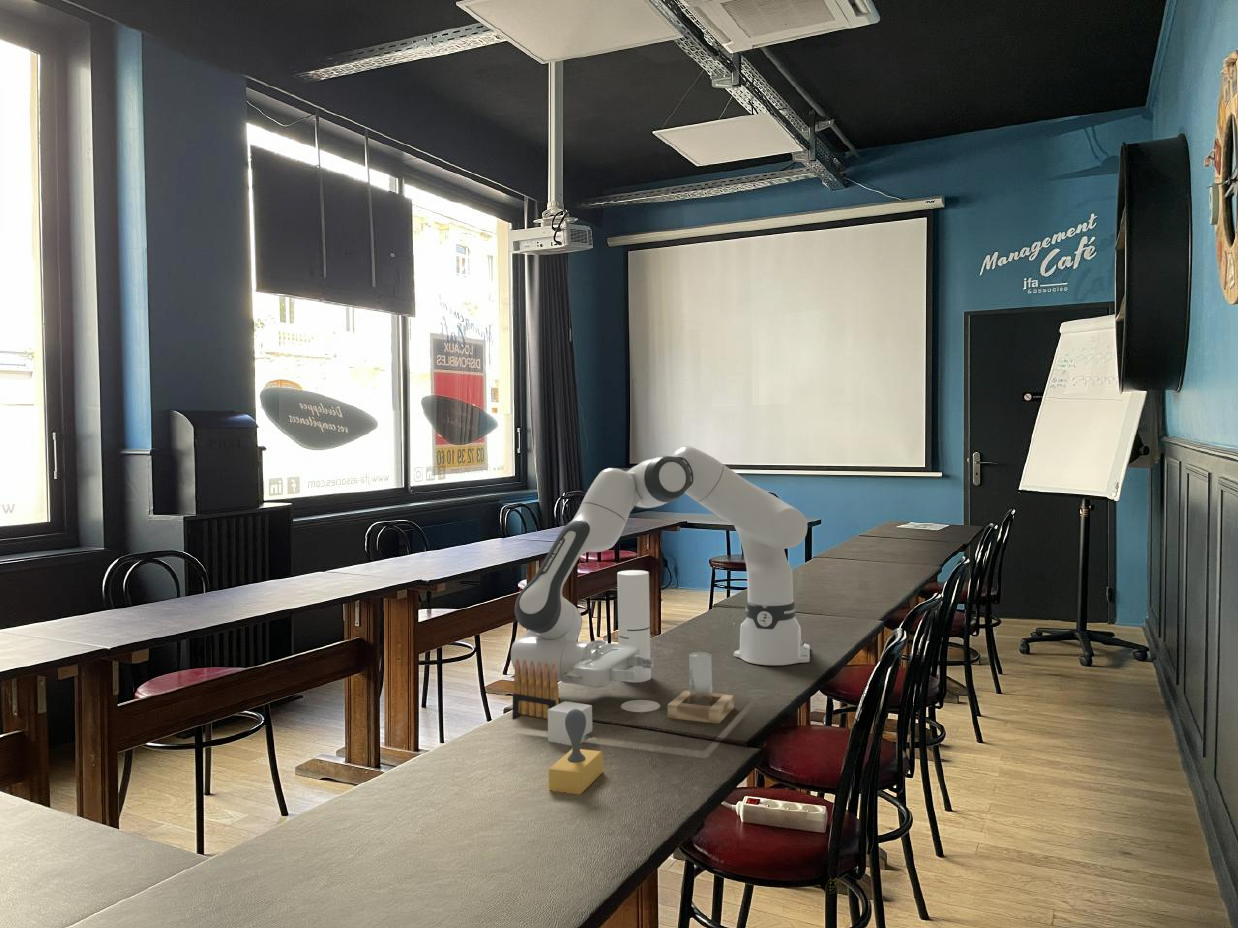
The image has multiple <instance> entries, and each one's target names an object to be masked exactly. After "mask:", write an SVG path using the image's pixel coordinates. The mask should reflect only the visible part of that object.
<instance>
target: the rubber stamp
mask: <svg viewBox="0 0 1238 928" xmlns="http://www.w3.org/2000/svg"><path fill="white" fill-rule="evenodd" d="M565 727H566V731H567V733H568V736H569V738H570V741H571V744H572V746H571V749H570V750H569V751H568V752H567V753H566V754H564V755H563V756H562V757H561V758H560V759H558V760H557V761H556V762H555V763H554V764H553V765H552V766H550V767H549V769H548V790H549V791H550V790H552V791H551V792H556V791H559V792H558V793H564V792H566V793H565V794H572V793H573V794H574V795H578V796H579V795H581V794H583V792H584V791H585V790H587V788H588V787H589V786H590V785H592V783H593V782H595V781H596V779H598V778H599V776H600V775H601V774H602V773H604V753H603V751H601V750H593V749H592V750H591V749H583V748H581V744H582V743H581V740H582V737H583V734H584V731H585V727H586V717H585V715H584V713H583V712H582V711H581V710H578V709H573V710H571V711H569V712H568V714H567V716H566V719H565ZM573 794H572V795H573Z"/></svg>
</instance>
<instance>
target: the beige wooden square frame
mask: <svg viewBox="0 0 1238 928" xmlns="http://www.w3.org/2000/svg"><path fill="white" fill-rule="evenodd" d="M666 706H667V707H666V708H667V709H666V710H667V718H668V719H675V720H685V721H691V722H692V721H693V722H701V723H702V722H703V723H710V724H711V723H712V724H721V722H722V721H723V720H724V719H725V718H726V717H727V716H728V715H729V714H730V713H731V712H732V711H733V710H734V708H735V695H734V694H727V693H726V694H723V693H716V692H715V693H714V692H712V706H704V705H695V704H690V690H684V691H682V692H681V693H680V694H679V695H677V696H676V697H674V699H673V700H671V701H670V702H669V703H668V704H666Z"/></svg>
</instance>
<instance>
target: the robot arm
mask: <svg viewBox="0 0 1238 928" xmlns="http://www.w3.org/2000/svg"><path fill="white" fill-rule="evenodd" d="M684 494H685V495H687V496H688V497H690V499H692V500H694V501H695V502H696V503H698V504H699V505H701V506H703V507H704V508H705V509H707V510H708V511H709V512H712V513H713V514H714V515H716V516H717V517H718V518H720V519H722V520H724V521H725V522H727V523H729V524H731V525H733V526H734V529H735V531H736V532H737V534H738V537H739V539H740V544H741V548H742V553H743V558H744V561H745V562H744V563H745V565H746V566H745V568H746V576H747V577H746V582H747V601H746V602H745V616H746V618H745V620H744V621H743V622H742V623H741V624H740V630H739V649H737V650H735V651H734V652H733V657H735V658H739V659H741V660H743V661H745V662H747V663H750V664H755V665H759V666H760V665H762V666H788V665H793V664H799V663H802V664H803V663H809V662H810V660H811V656H810V654H811V647H810V646H811V645H809V644H807V643H805V641H804V640H802V632H801V631H802V630H801V629H802V628H801V626H800V624H799V621H798V620H797V618H796V615H797V614H796V613H797V612H796V611H797V610H796V609H797V608H796V601H795V599H794V588H793V587H794V583H793V581H794V578H793V577H794V575H793V573H794V572H793V569H792V566H791V565H790V563H789V561H788V559H787V555H786V552H785V549H792V548H795V547H797V546H799V545H800V544H802V542H804V540H805V538H806V536H807V533H808V521H807V518H806V516H805V515H804V513H802V512H801V511H800V510H799V509H797V508H796V507H794V506H792V505H790V504H789V503H787V502H785V501H783V499H780V498H779V497H777V496H775V495H774V494H772V493H770V492H769V491H767V490H764V488H763V489H762V488H761V487H759V486H757V485H756V484H753V483H751V482H750V481H748V480H747V479H745V478H744V477H742V476H741V475H740V474H738V473H737V472H735V471H734V470H732V469H731V468H729V467H728V466H726V465H725V464H723V463H722V462H721V461H719V460H718V459H716V458H714V457H713V456H711V455H709V454H708V453H706V452H704V451H701V450H700V449H697V448H695V447H692V446H687V445H686V446H682V447H679V448H677V449H676V450H675V451H674V452H673V453H672V454H670V455H661V456H657V457H654V458H649V459H646V460H643V461H642V462H639V463H638V464H637V465H633V466H631V467H629V468H628V469H626V470H624V469H620V468H615V467H608V468H605V469H603V470H601V471H600V472H599V473H598V475H597V476H596V477H595V479H594V480H593V482H592V483H591V485H590V487H589V488H588V490H587V492H586V493H585V494H584V498H583V500H582V501H581V504H580V506H579V507H578V510H577V512H576V513H575V515H574V517H573V519H572V520H571V521H570V522H568V523H567V524H566V525H565V526H564V527H563V528H562V529H561V531H560V533H559V534H558V535H557V538H556V539H555V541H554V543H553V544H552V546H551V548H550V549H549V551H548V553H547V554H546V556H545V558H544V559H543V561H542V563H541V564H540V567H539V569H538V570H537V572H536V573H535V574H534V575H533V577H532V579H531V580H530V581H529V582H528V583H527V584H525V586H524V588H522V590H521V591H520V592H519V593H518V595H517V598H516V600H515V604H514V614H515V615H514V616H515V618H516V620H517V622H518V624H519V625H520V626H521V627H523V628H524V629H526V631H525V632H524V633H523V634H522V636H521V637H519V638H518V639H516V640H514V641H513V643H512V645H511V650H510V661H511V664H512V667H513V669H514V670H515V663H516V660H517V659H518V660H519V663H520V668H521V677H522V665H523V661H524V660H525V661H526V663H527V668H528V678H529V668H530V663H531V661H533V663H534V667H535V677H536V670H537V665H538V662H540V664H541V667H542V676H543V677H544V667H545V664H546V663H547V664H548V667H549V673H550V682H551V669H552V665H553V664H555V667H556V671H557V682H558V681H559V682H561V683H564V684H567V685H568V684H570V685H579V686H584V687H589V688H590V687H591V688H596V689H597V688H600V689H601V688H604V687H607V686H608V685H609V684H611V683H612V682H619V681H622V680H634V679H635V678H636V670H632V669H633V668H634V667H636V666H642V667H643V668H653V667H654V658H651V657H650V658H645V657H643V656H641V655H640V650H639V649H638V648H636V647H633V646H627V645H620V644H619V643H606V640H604V639H596V640H590V641H582V640H581V641H578V640H579V637H580V633H581V630H582V626H583V618H582V614H581V612H580V610H579V609H578V608H577V607H576V606H575V605H574V604H573V603H572V602H570V601H569V600H568V599H566V598H565V597H564V596H563V589H564V585H565V584H566V582H567V579H568V578H569V576H570V574H571V572H572V570H573V569H574V567H575V566H576V563H577V562H578V560H579V558H580V557H581V556H582V555H584V554H585V553H600V552H605V551H607V550H609V549H612V548H613V547H614V546H615V544H616V543H617V542H618V540H619V539H620V537H621V535H622V533H623V531H624V528H625V526H626V524H627V521H628V519H629V517H630V513H631V512H632V510H633V509H636V510H646V509H650V508H651V509H652V508H657V507H661V506H663V505H665V504H668V503H672V502H674V501H675V502H676V501H677V500H678V499H680V498H681V497H682V496H683V495H684Z"/></svg>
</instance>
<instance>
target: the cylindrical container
mask: <svg viewBox="0 0 1238 928" xmlns="http://www.w3.org/2000/svg"><path fill="white" fill-rule="evenodd" d="M616 574H617V576H616V578H617V622H618V623H617V625H618V628H617V629H618V634H617V635H618V644H620V645H627V646H633V647H636V648H638V649H639V650H640V655H641V656H643V657H645V658H651V621H650V620H651V619H650V618H651V616H650V612H651V611H650V572H649V571H646V570H640V569H639V570H638V569H637V570H635V569H631V570H630V569H629V570H621V571H618V572H617V573H616ZM651 668H652V667H651ZM651 668H643V667H642V666H636V667H634V668H633V669H632V670H636V678H635V679H634V680H621V681H622V682H626V683H643V682H647V681H650V680H651V679H652V677H651V676H652V675H651V673H652V670H651Z"/></svg>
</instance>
